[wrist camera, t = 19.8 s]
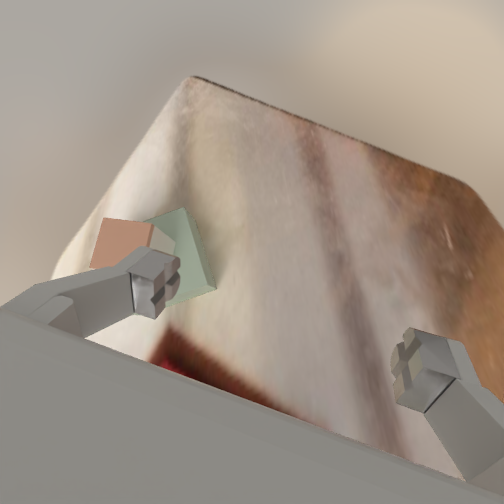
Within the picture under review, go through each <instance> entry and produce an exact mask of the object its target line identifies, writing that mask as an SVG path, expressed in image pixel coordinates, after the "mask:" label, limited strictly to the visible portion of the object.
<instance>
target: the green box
mask: <svg viewBox="0 0 504 504" xmlns="http://www.w3.org/2000/svg"><path fill="white" fill-rule="evenodd" d="M144 222H145V223H152V224H153V225H154V226H156V227H157V228H158V229H160V230H161V231H162V232H163V233H165V234H166V235H167V236H169V237H170V238H171V239H172V240H174V241H175V242H176V244H175V249H174V253H173V255H174V256H177V257H179V258H180V265H181V267H180V268H179V269H178V270H177V271H178V273H179V275H180V285H179V288H178V291H177V293H176V295H175V296H174V297H173V299H172V300H169V301H166V302H165V308H166V307H169V306H172V305H174V304H177V303H180V302H183V301H186V300H188V299H191V298H194V297H197V296H199V295H202V294H205V293H208V292H211V291H213V290H216V289H217V288H216V285H215V282H214V279H213V276H212V272H211V269H210V266H209V263H208V260H207V256H206V253H205V250H204V247H203V243H202V240H201V237H200V234H199V231H198V227H197V224H196V221H195V220H194V218H193V217H192V216H191V215H190V214H189V212H188V211H187V210H186V209H185V208H184V207H182V208H179V209H177V210H174V211H171V212H168V213H166V214H163V215H160V216H157V217H155V218H152V219H149V220H146V221H144ZM133 315H139V314H136V313H134V314H133Z"/></svg>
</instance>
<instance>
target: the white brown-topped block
mask: <svg viewBox="0 0 504 504" xmlns="http://www.w3.org/2000/svg"><path fill="white" fill-rule="evenodd" d="M175 244H176V242H175V241H174V240H172V239H171V238H170V237H169V236H167V235H166V234H165V233H163V232H162V231H161V230H160V229H158V228H157V227H156V226H154V225H153V224H152V223H145V222H136V221H128V220H120V219H111V218H103V221H102V224H101V228H100V232H99V235H98V239H97V242H96V246H95V249H94V253H93V256H92V260H91V263H90V267H89V268H93V269H99V268H103V267H107V266H110V267H113V266H115V265H116V264H117V263H118V262H120V261H121V260H122V259H124V258H125V257H126V256H127V255H129V254H130V253H131V252H133V251H134V250H135V249H136V248H138V247H139V246H146V247H149V248H152V249H156V250H159V251H162V252H165V253H168V254H171V255H173V253H174V249H175Z"/></svg>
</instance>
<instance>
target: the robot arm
mask: <svg viewBox="0 0 504 504" xmlns="http://www.w3.org/2000/svg"><path fill="white" fill-rule="evenodd" d="M180 267H181V265H180V258H179V257H177V256H174V255H171V254H168V253H165V252H162V251H159V250H156V249H152V248H149V247H146V246H139V247H138V248H136V249H135V250H134V251H133V252H131V253H130V254H129V255H127V256H126V257H125V258H124V259H122V260H121V261H120V262H118V263H117V264H116V265H115V266H113V267H110V266H107V267H103V268H99V269H95V270H91V271H87V272H83V273H79V274H75V275H71V276H67V277H63V278H59V279H55V280H51V281H47V282H43V283H39V284H35V285H33V286H32V287H31V288H29V289H27V290H26V291H25V292H23V293H21V294H20V295H18V296H17V297H15V298H13V299H12V300H10V301H9V302H7V303H6V304H4V305H3V306H1V307H0V504H504V404H503V403H502V402H501V401H500V400H499V399H498V398H497V397H496V396H495V395H494V394H493V393H492V392H490V391H489V390H488V389H487V388H484V387H482V386H481V384H480V381H479V379H478V377H477V374H476V372H475V370H474V367H473V365H472V363H471V360H470V358H469V356H468V353H467V351H466V349H465V346H464V345H463V344H462V343H461V342H460V341H456V340H453V339H449V338H446V337H441V336H437V335H434V334H431V333H427V332H424V331H420V330H417V329H414V328H410V327H409V328H408V329H407V330H406V331H405V333H404V334H403V340H404V342H401V343H399V344H397V345H396V347H395V348H394V350H393V353H392V356H391V364H390V366H391V372H392V374H393V375H394V376H395V378H396V380H395V382H394V383H393V388H394V395H395V402H396V403H397V404H400V405H402V406H405V407H408V408H410V409H413V410H416V411H418V412H421V413H424V416H425V418H426V419H427V421H428V422H429V424H430V425H431V427H432V429H433V430H434V432H435V433H436V435H437V436H438V438H439V440H440V441H441V443H442V444H443V446H444V447H445V449H446V451H447V452H448V454H449V455H450V457H451V458H452V460H453V461H454V463H455V465H456V466H457V468H458V469H459V471H460V472H461V474H462V476H463V477H464V479H465V480H466V482H465V481H462V480H460V479H457V478H454V477H452V476H449V475H446V474H444V473H441V472H438V471H436V470H433V469H430V468H428V467H425V466H422V465H420V464H417V463H414V462H412V461H409V460H406V459H404V458H401V457H398V456H396V455H393V454H390V453H388V452H385V451H382V450H380V449H377V448H374V447H372V446H369V445H366V444H364V443H361V442H358V441H356V440H353V439H350V438H348V437H345V436H342V435H340V434H337V433H334V432H332V431H329V430H326V429H324V428H321V427H318V426H316V425H313V424H310V423H308V422H305V421H302V420H300V419H297V418H294V417H292V416H289V415H286V414H284V413H281V412H278V411H276V410H273V409H271V408H268V407H265V406H263V405H260V404H257V403H255V402H252V401H249V400H247V399H244V398H241V397H239V396H236V395H233V394H231V393H228V392H225V391H223V390H220V389H217V388H215V387H212V386H209V385H207V384H204V383H201V382H199V381H196V380H193V379H191V378H188V377H185V376H183V375H180V374H177V373H175V372H172V371H169V370H167V369H164V368H161V367H159V366H156V365H153V364H151V363H148V362H145V361H143V360H140V359H137V358H135V357H132V356H129V355H127V354H124V353H122V352H119V351H116V350H114V349H111V348H108V347H106V346H103V345H100V344H98V343H95V342H92V341H90V340H87V339H84V338H86V337H88V336H90V335H92V334H94V333H96V332H98V331H100V330H102V329H104V328H106V327H108V326H110V325H112V324H114V323H116V322H118V321H120V320H122V319H125V318H127V317H129V316H131V315H133V314H134V313H136V314H139V315H142V316H146V317H149V318H152V319H156V318H157V317H158V316H159V314H160V313H161V312H162V311H163V310H164V308H165V302H166V301H169V300H172V299H173V297H174V296H175V295H176V293H177V291H178V288H179V285H180V275H179V273H178V271H177V270H178V269H179V268H180Z"/></svg>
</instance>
